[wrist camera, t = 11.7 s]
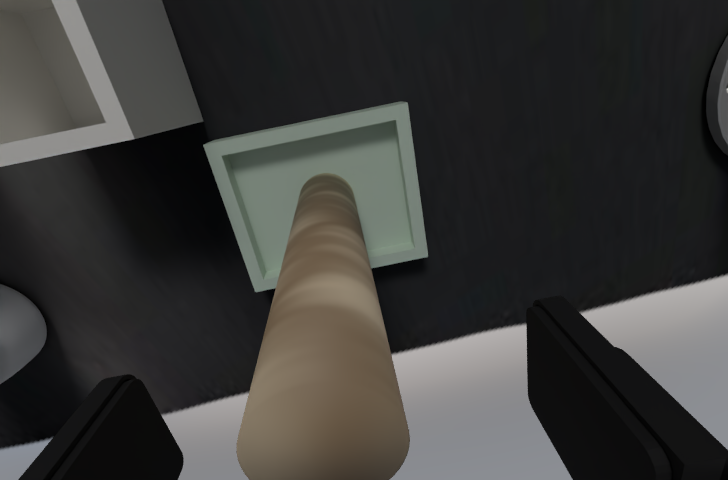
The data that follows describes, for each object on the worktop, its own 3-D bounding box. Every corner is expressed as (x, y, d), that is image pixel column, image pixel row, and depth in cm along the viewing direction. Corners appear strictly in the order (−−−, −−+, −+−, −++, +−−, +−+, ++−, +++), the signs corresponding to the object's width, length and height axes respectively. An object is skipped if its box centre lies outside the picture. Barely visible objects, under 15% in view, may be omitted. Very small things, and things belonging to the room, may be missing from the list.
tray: (401, 101, 23) (407, 102, 21) (421, 245, 27) (428, 256, 25) (213, 140, 23) (202, 144, 21) (260, 278, 27) (255, 292, 25)
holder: (152, -26, 20) (33, -101, 12) (203, 121, 23) (134, 138, 15) (13, 3, 20) (-199, -53, 12) (82, 146, 23) (-51, 177, 15)
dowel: (348, 167, 24) (395, 366, 7) (359, 219, 25) (420, 485, 8) (293, 179, 24) (210, 405, 7) (307, 230, 25) (266, 518, 8)
